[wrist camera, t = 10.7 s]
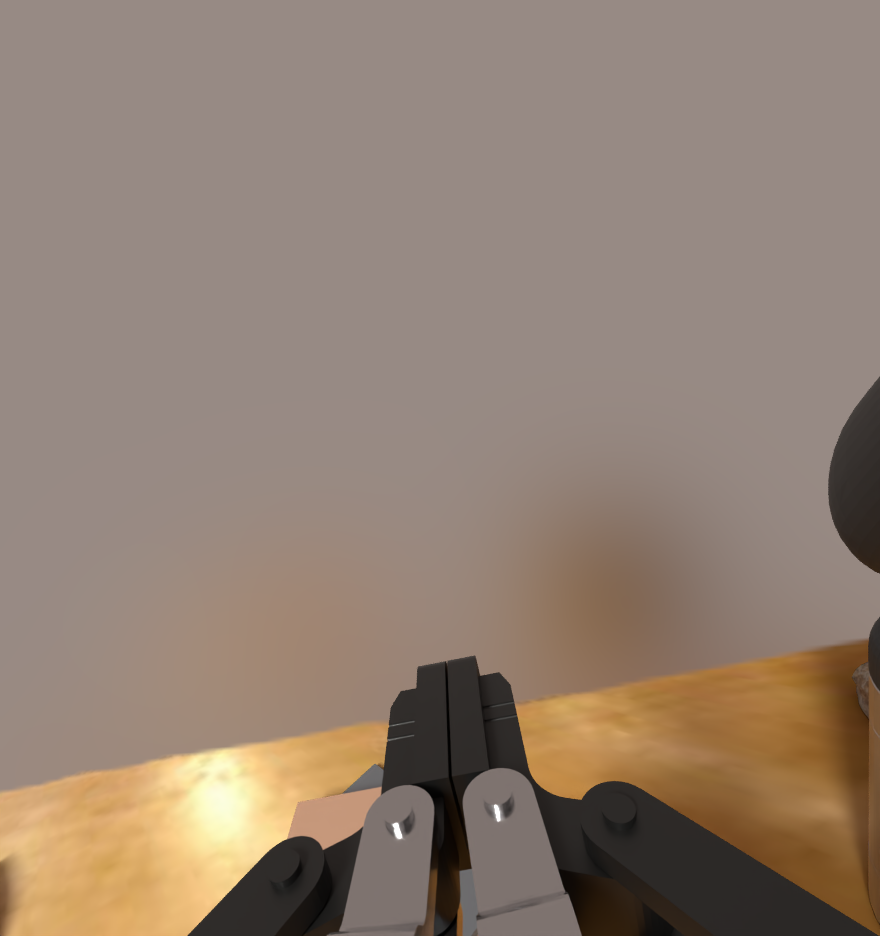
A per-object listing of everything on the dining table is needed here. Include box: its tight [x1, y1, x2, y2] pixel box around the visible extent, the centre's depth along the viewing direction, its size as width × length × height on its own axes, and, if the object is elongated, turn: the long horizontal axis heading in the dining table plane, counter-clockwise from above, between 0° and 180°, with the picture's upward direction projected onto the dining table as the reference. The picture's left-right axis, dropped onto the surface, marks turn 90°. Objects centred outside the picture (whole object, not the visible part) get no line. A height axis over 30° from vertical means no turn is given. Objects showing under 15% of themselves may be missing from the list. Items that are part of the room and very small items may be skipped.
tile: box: [287, 787, 382, 850], centre depth 40 cm, size 2×8×14 cm
